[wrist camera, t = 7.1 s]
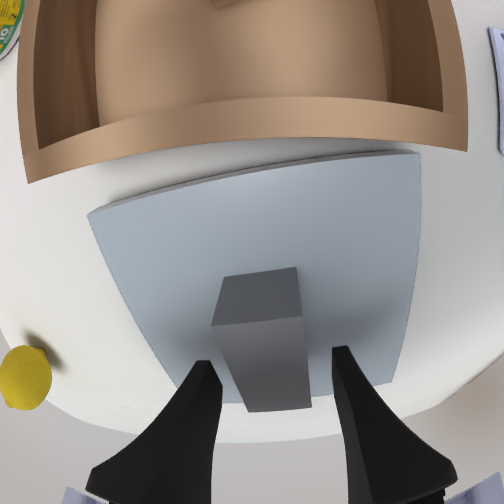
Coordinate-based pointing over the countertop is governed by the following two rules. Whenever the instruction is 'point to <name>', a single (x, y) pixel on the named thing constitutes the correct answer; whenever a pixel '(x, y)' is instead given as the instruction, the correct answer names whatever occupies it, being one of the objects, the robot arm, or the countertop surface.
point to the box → (233, 75)
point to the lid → (272, 272)
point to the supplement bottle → (10, 23)
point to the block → (223, 2)
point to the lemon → (25, 377)
